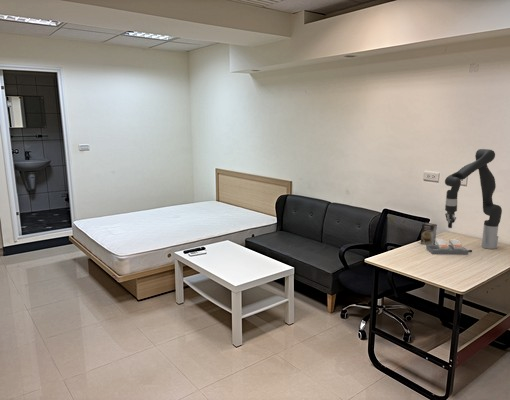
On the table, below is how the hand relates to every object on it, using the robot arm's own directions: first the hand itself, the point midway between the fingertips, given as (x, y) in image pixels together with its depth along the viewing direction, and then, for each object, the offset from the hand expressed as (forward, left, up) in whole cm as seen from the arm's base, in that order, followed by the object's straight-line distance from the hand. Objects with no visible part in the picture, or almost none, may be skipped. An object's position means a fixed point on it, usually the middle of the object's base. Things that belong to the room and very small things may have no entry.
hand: (449, 227), depth 279 cm
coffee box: (+8, -18, -18) cm, 27 cm away
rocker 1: (+5, 0, -13) cm, 13 cm away
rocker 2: (-5, 0, -13) cm, 14 cm away
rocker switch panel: (-2, 0, -18) cm, 18 cm away
